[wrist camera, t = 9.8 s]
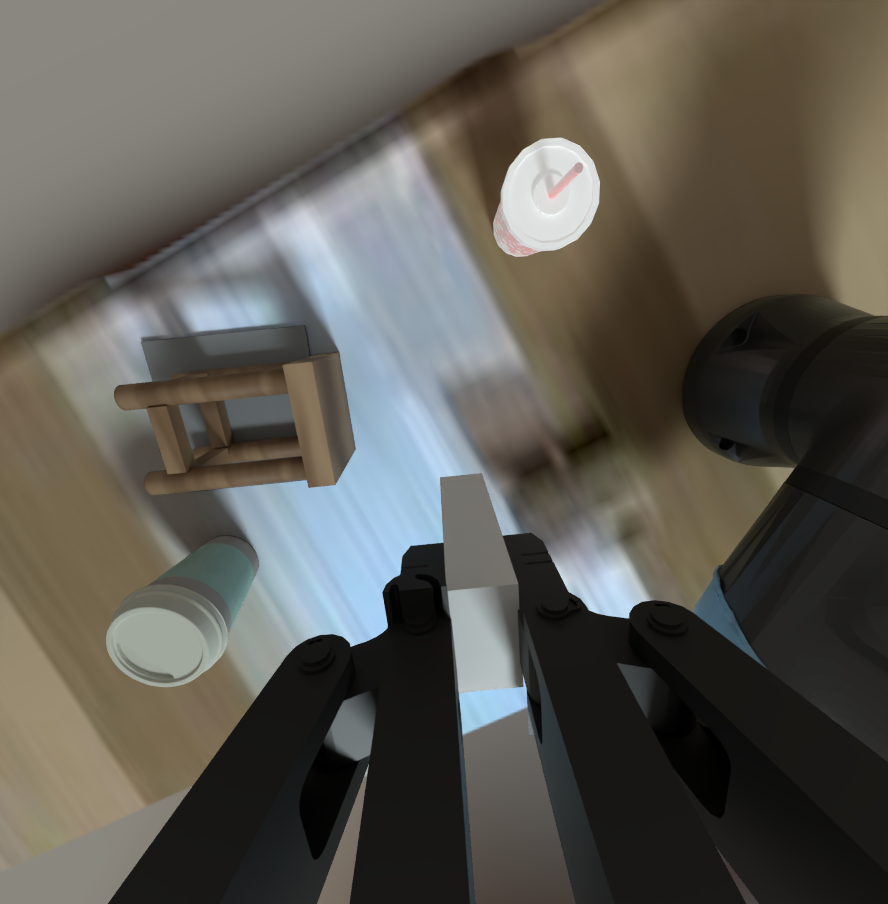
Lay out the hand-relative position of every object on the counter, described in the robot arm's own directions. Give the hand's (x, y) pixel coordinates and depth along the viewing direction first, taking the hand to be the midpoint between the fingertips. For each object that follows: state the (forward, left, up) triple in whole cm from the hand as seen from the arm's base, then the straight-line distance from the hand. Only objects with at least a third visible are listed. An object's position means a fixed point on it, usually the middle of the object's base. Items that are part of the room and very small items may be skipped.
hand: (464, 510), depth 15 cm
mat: (+18, 0, -24) cm, 30 cm away
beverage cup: (-8, -13, -25) cm, 29 cm away
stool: (+9, 0, -20) cm, 22 cm away
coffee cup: (+23, +15, -25) cm, 37 cm away
